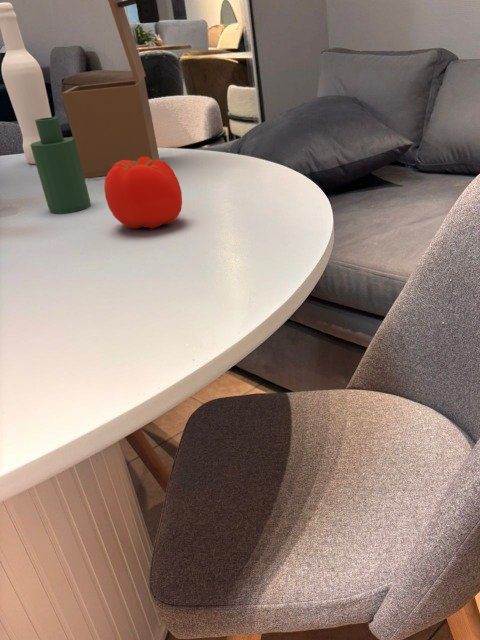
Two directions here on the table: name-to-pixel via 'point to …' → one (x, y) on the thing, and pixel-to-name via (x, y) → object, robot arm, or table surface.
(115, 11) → the case lid
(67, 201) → the bottle small
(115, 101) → the case
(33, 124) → the bottle
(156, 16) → the robot arm
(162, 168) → the tomato
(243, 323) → the table surface
